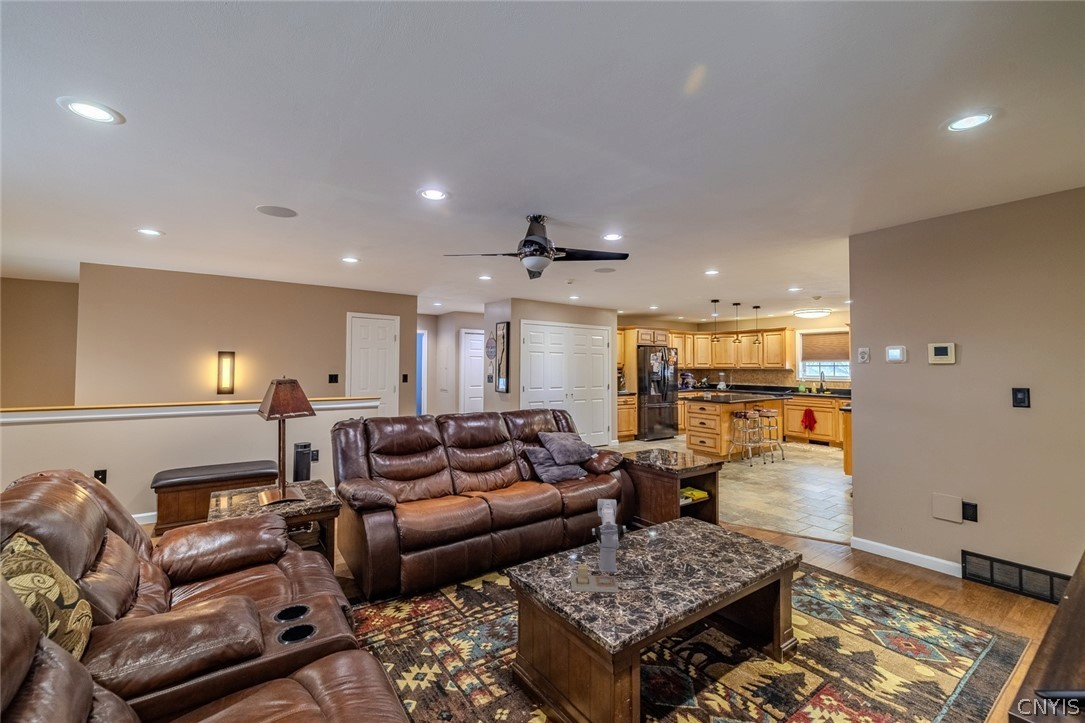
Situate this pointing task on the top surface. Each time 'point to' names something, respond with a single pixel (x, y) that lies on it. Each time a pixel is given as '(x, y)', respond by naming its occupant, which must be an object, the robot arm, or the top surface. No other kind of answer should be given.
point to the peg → (582, 574)
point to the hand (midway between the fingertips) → (609, 540)
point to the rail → (595, 584)
